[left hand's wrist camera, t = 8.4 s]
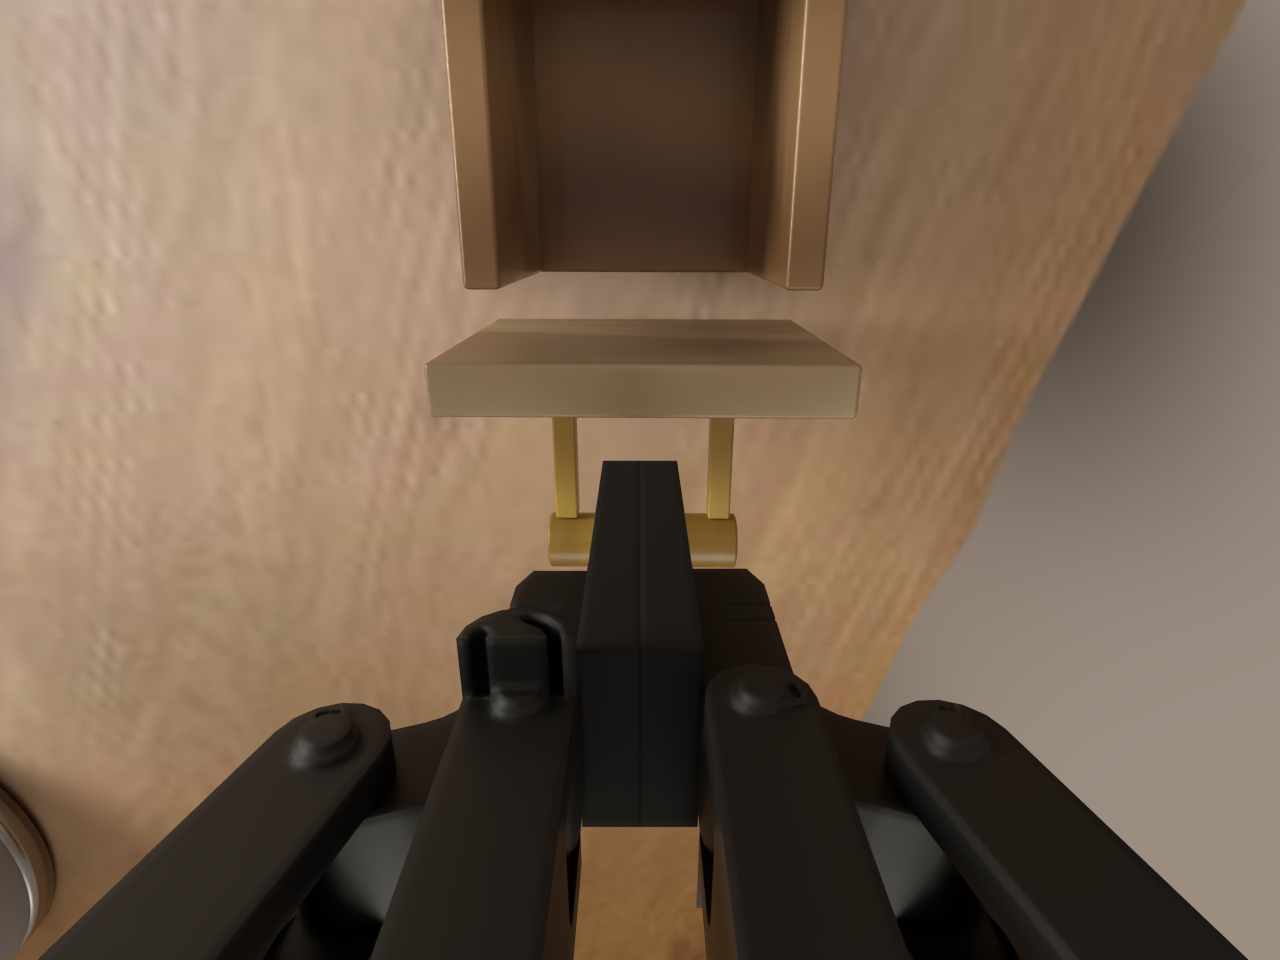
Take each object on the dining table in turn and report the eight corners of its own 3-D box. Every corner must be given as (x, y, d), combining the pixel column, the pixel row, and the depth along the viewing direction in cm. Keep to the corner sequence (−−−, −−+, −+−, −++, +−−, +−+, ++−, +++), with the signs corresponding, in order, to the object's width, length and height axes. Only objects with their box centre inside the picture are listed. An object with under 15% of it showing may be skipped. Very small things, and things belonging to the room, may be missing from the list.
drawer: (778, 504, 25) (835, 625, 17) (509, 503, 25) (448, 623, 17) (835, -285, 18) (974, -668, 10) (458, -284, 18) (318, -662, 10)
